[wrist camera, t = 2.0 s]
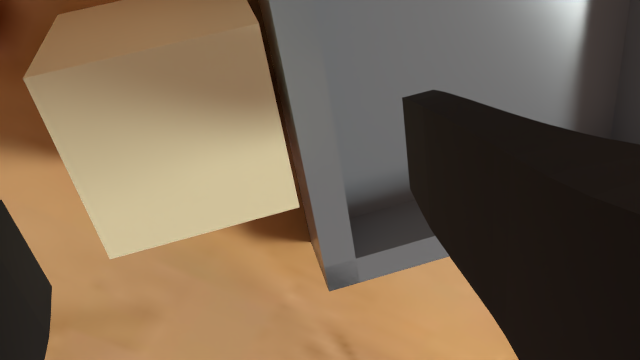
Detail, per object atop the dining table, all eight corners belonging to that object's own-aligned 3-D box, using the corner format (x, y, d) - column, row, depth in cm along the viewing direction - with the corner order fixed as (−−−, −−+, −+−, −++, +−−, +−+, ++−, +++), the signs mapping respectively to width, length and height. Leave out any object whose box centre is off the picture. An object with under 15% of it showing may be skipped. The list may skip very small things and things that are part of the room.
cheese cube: (120, 163, 17) (110, 259, 13) (58, 13, 14) (22, 78, 11) (269, 125, 17) (299, 207, 14) (233, -26, 15) (258, 22, 11)
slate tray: (311, 243, 20) (328, 291, 18) (203, -257, 12) (212, -276, 10) (621, 155, 21) (671, 191, 19) (701, -344, 13) (800, -376, 11)
